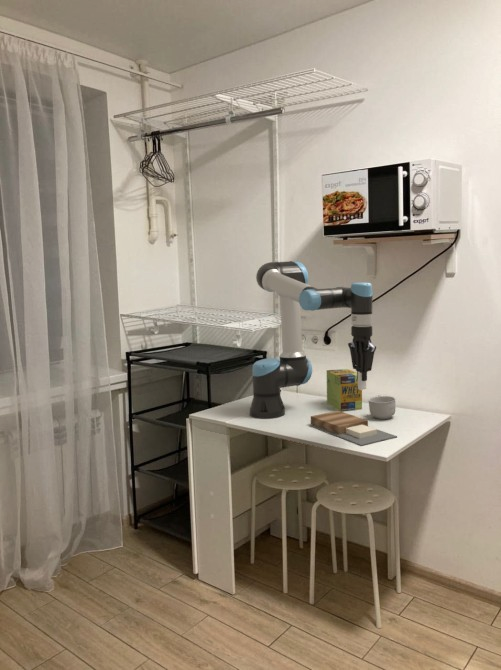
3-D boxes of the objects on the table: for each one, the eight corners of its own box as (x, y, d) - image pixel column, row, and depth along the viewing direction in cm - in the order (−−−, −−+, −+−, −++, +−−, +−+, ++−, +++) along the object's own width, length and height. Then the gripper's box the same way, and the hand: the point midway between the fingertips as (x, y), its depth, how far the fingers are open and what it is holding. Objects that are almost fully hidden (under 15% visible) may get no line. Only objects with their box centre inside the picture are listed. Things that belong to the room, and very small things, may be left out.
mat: (310, 426, 228) (310, 425, 228) (344, 419, 237) (344, 418, 237) (361, 446, 203) (361, 444, 203) (397, 437, 211) (397, 436, 211)
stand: (310, 423, 231) (310, 416, 230) (338, 417, 238) (338, 410, 237) (339, 434, 215) (339, 426, 215) (368, 427, 222) (367, 420, 222)
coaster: (345, 433, 217) (345, 428, 216) (362, 429, 220) (362, 424, 220) (360, 438, 210) (360, 433, 209) (376, 434, 214) (376, 429, 213)
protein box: (340, 411, 248) (340, 376, 246) (326, 403, 263) (326, 370, 261) (362, 409, 251) (362, 374, 249) (347, 401, 266) (347, 368, 264)
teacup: (395, 421, 231) (395, 402, 230) (367, 420, 234) (367, 401, 233) (396, 412, 244) (396, 394, 243) (370, 411, 247) (369, 393, 246)
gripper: (342, 324, 213) (342, 387, 216) (365, 328, 202) (366, 393, 205) (357, 323, 217) (358, 384, 220) (382, 326, 205) (382, 390, 209)
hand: (362, 389), depth 212 cm, fingers closed
